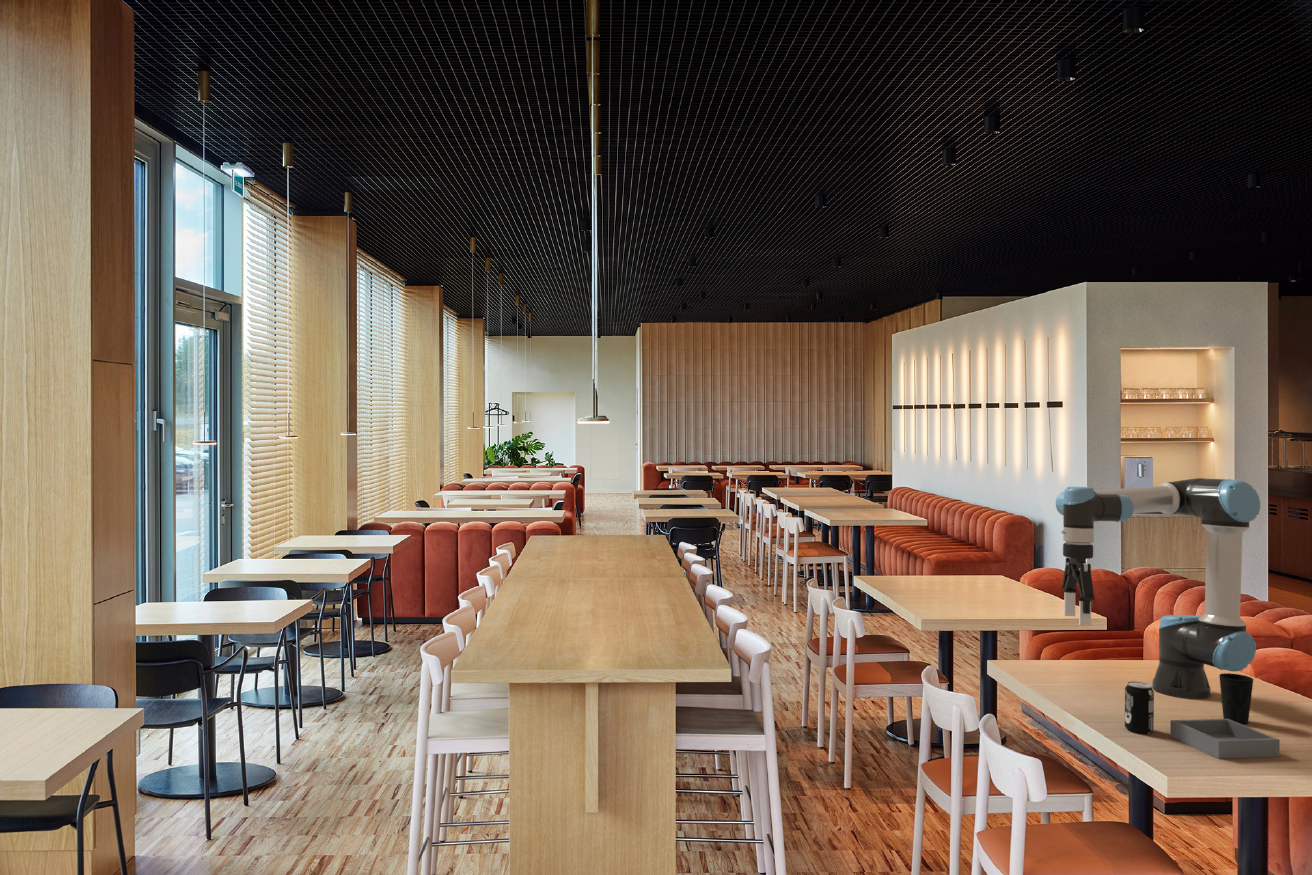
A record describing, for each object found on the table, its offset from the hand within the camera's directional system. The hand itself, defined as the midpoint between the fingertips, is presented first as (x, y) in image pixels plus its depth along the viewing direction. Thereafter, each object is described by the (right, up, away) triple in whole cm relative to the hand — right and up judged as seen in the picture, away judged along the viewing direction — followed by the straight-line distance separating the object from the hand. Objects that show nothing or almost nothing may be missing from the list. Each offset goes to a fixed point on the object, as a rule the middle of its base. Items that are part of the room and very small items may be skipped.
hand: (1077, 620), depth 241 cm
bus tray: (+24, -26, -25) cm, 43 cm away
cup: (+41, -27, -4) cm, 49 cm away
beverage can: (+10, -26, -13) cm, 31 cm away
